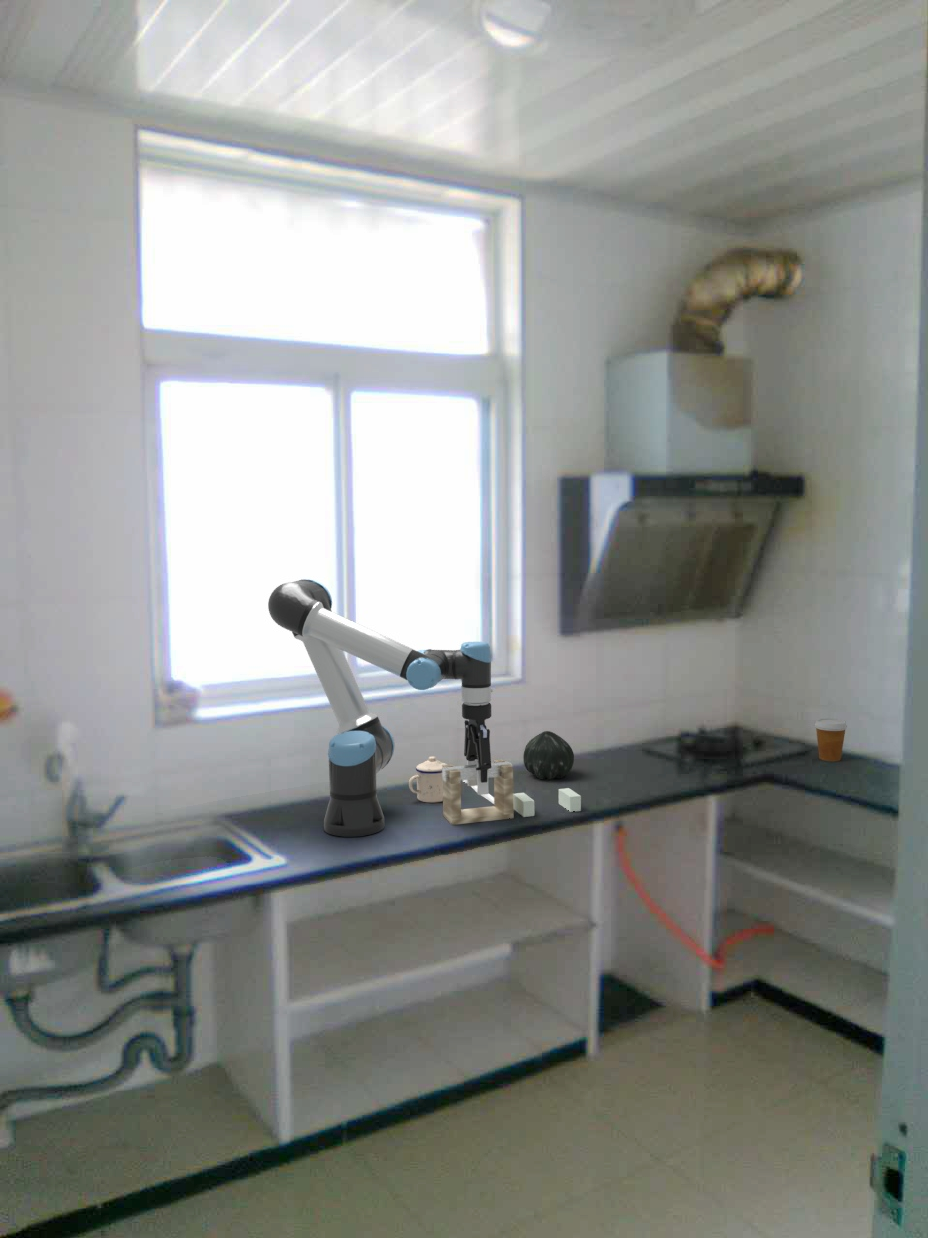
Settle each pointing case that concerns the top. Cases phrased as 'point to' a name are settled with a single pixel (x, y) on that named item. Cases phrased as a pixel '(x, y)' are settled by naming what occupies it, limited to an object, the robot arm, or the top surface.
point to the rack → (496, 812)
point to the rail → (473, 771)
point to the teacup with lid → (429, 781)
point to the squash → (548, 756)
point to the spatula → (487, 796)
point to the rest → (566, 799)
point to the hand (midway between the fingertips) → (477, 789)
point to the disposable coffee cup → (830, 738)
